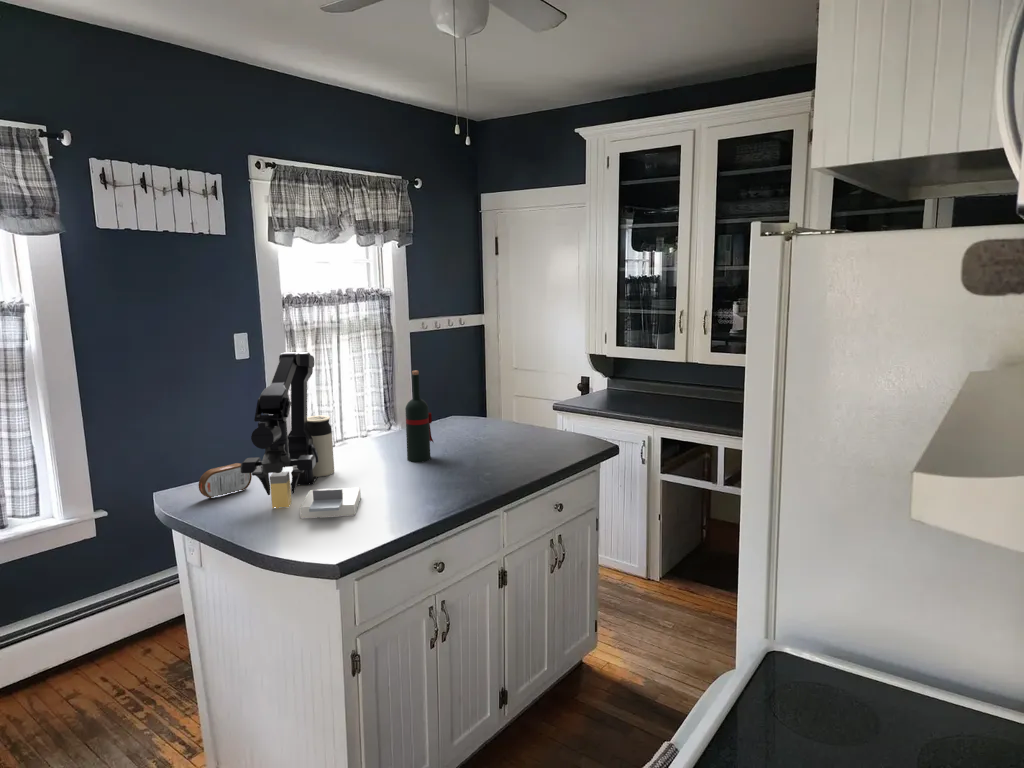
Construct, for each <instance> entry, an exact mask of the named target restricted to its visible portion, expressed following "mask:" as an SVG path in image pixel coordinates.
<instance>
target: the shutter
mask: <svg viewBox="0 0 1024 768" xmlns="http://www.w3.org/2000/svg"><path fill="white" fill-rule="evenodd" d="M312 490H313V502H312V504H311V506H310V508H309V512H317V511H335V510H339V509H340V507H341V504H342V502H343V491H342V487H336V488H318V489H317V488H315V489H312Z"/></svg>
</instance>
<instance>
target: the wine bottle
mask: <svg viewBox="0 0 1024 768" xmlns="http://www.w3.org/2000/svg"><path fill="white" fill-rule="evenodd" d="M411 379H412V399H411V400H410V399H409V401H408V402H407V404H406V406H405V428H406V429H405V430H406V431H405V432H406V433H405V435H406V459H407V461H408V462H410V461H411V462H412V463H423V462H422V461H424V462H428V461H430V460H431V458H432V457H431V442H432V443H433V444H434V440H433V438H432V429H431V424H432V423H433V421H432V420H433V419H432V418H433V417H432V412H429V405H428V403H427V402H426V401H425V400H424V399H422V398H420V397H421V396H420V395H421V394H420V373H419V370H412V371H411ZM429 459H430V460H429ZM427 460H428V461H427Z"/></svg>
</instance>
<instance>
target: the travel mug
mask: <svg viewBox="0 0 1024 768" xmlns="http://www.w3.org/2000/svg"><path fill="white" fill-rule="evenodd" d="M330 419H331V416H329V415H321V414H319V415H312V416H307V430H308V432H309V433H310V435H311V437H312V438H313V444H314V446H315V448H316V450H317V452H318V456H319V458H318V459H319V462H317V463H316V465H315V466H314V468H313V477H314V476H316V478H320V477H321V478H322V476H323V477H327V476H330V475H333V473H335V462H334V459H335V458H334V447H333V446H334V445H333V430H332V426H331V424H330Z"/></svg>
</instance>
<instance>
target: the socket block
mask: <svg viewBox="0 0 1024 768" xmlns="http://www.w3.org/2000/svg"><path fill="white" fill-rule="evenodd" d="M341 488H342V487H341ZM313 490H314V489H311V490H310V489H309V490H308V493H307V494H306V496H305V498H304V500H303V501H302V503H301V504H300V507H299V511H300V512H299V514H300V519H301V518H302V519H314V518H315V519H316V518H317V517H320V518H334V517H335V518H336V517H354V516H356V513H357V511H358V508H357V507H359V504H360V502H359V501H361V498H362V497H361V487H346V488H344V487H343V488H342V491H343V502H342V504H341V507H340V509H339V510H335V511H317V512H309V508H310V506H311V504H312V502H313ZM317 519H318V518H317Z"/></svg>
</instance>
